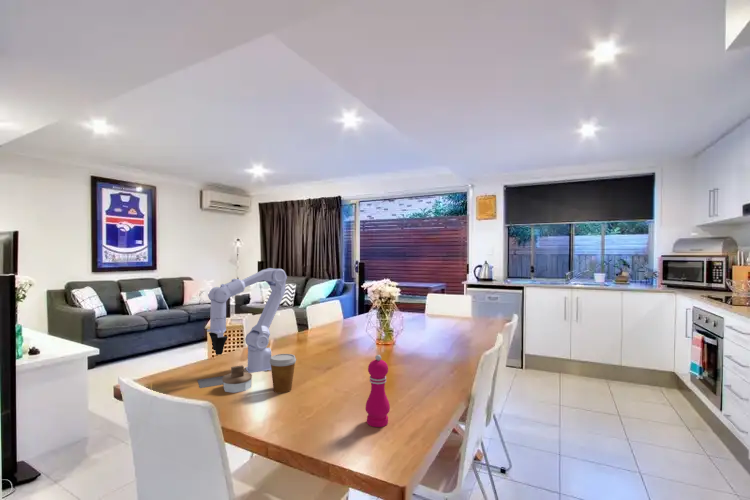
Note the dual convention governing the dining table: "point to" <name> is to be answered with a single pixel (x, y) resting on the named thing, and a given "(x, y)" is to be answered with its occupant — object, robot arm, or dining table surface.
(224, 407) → the dining table surface
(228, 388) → the bowl
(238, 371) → the lid
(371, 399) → the pepper mill
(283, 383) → the disposable coffee cup
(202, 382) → the mat
